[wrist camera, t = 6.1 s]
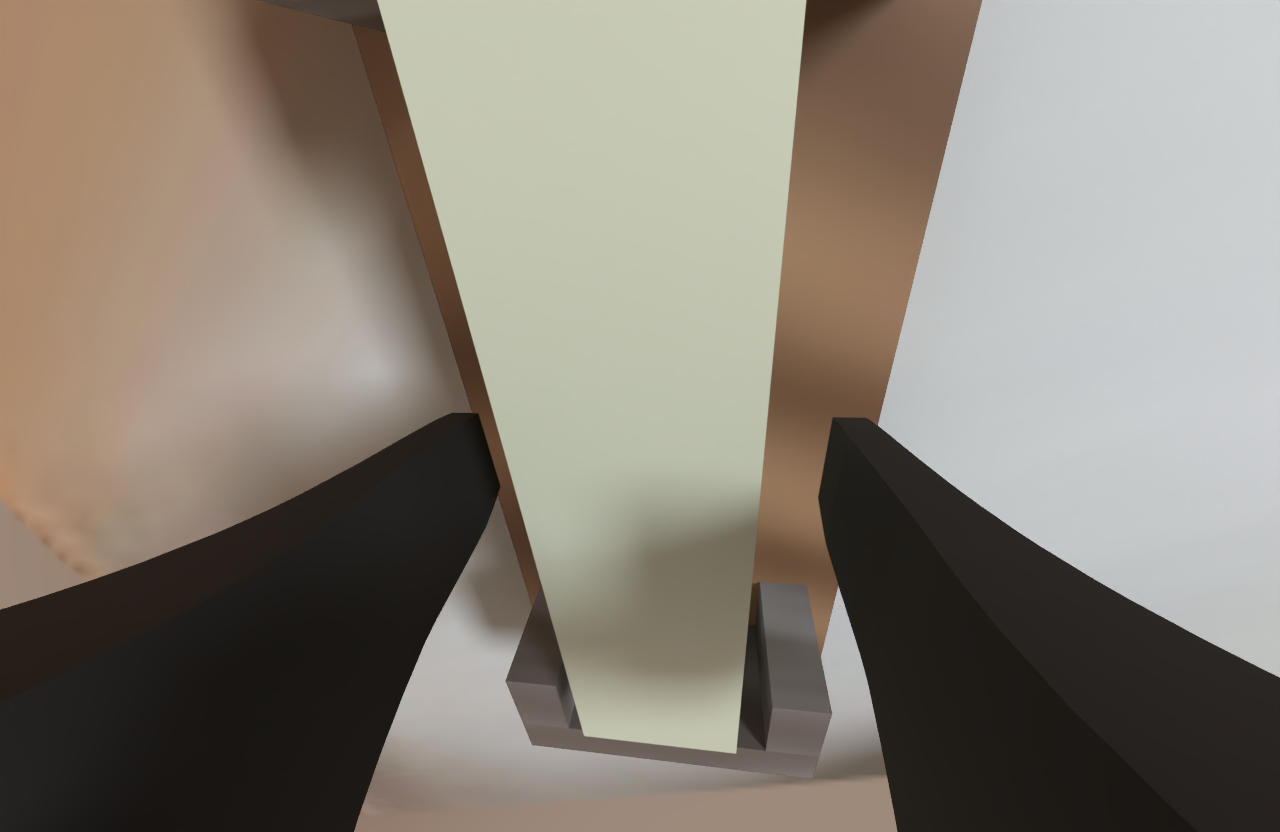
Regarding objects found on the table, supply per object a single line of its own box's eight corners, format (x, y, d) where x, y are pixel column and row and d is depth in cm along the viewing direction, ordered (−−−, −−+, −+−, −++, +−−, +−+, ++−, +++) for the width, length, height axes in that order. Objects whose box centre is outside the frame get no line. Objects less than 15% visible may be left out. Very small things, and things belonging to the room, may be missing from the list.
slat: (730, 587, 16) (736, 753, 12) (616, 580, 17) (584, 735, 12) (765, -53, 7) (830, -263, 3) (527, -22, 8) (330, -168, 4)
